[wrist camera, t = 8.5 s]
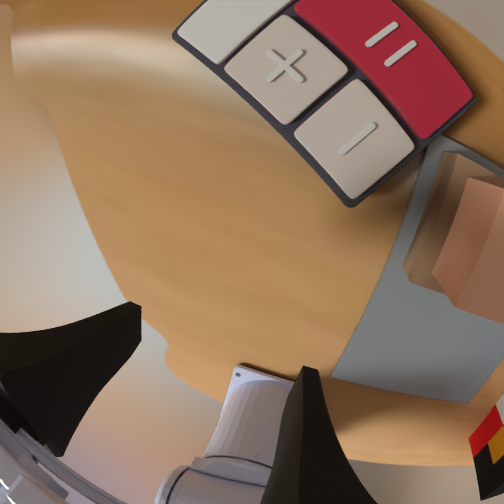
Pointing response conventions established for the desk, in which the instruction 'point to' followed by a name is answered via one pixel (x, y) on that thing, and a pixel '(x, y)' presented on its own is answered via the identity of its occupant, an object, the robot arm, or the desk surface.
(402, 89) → the calculator
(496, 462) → the puzzle toy
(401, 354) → the baseplate
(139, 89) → the desk surface
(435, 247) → the walnut base brick
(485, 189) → the terracotta brick
